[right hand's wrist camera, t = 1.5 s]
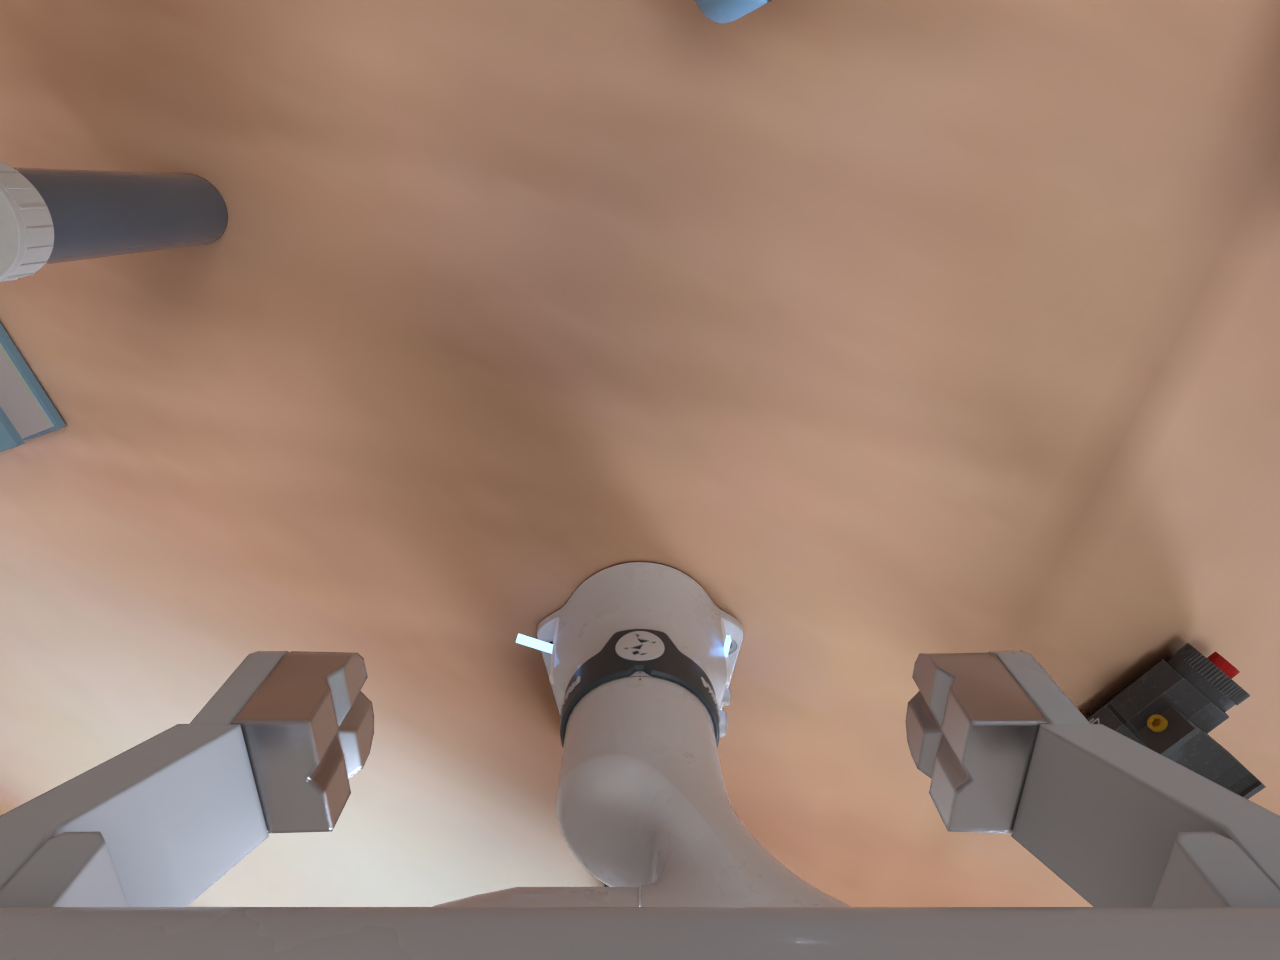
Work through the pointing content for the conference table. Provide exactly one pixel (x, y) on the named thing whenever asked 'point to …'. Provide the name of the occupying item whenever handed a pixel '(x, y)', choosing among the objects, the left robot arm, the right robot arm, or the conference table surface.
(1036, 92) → the conference table surface
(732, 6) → the left robot arm
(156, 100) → the conference table surface
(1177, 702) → the laser sight
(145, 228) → the dark grey cylinder
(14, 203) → the lid
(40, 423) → the book
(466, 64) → the conference table surface
